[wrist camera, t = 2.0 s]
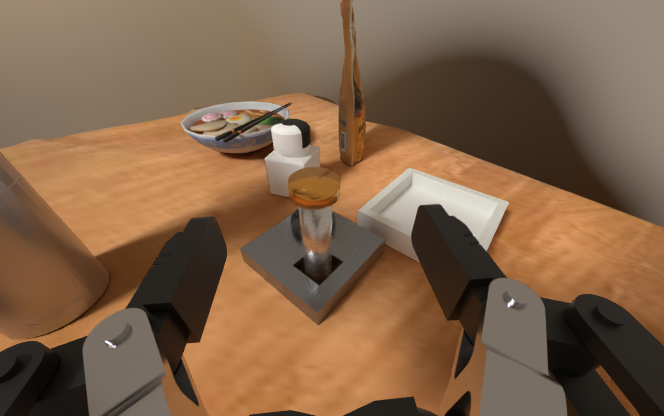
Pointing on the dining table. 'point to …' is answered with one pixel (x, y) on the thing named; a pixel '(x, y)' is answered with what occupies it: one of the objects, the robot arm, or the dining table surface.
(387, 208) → the tray
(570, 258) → the dining table surface
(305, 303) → the grey flat square block
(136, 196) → the dining table surface
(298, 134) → the medicine bottle
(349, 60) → the pancake mix bag
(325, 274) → the pin
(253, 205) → the dining table surface
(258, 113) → the ramen bowl
